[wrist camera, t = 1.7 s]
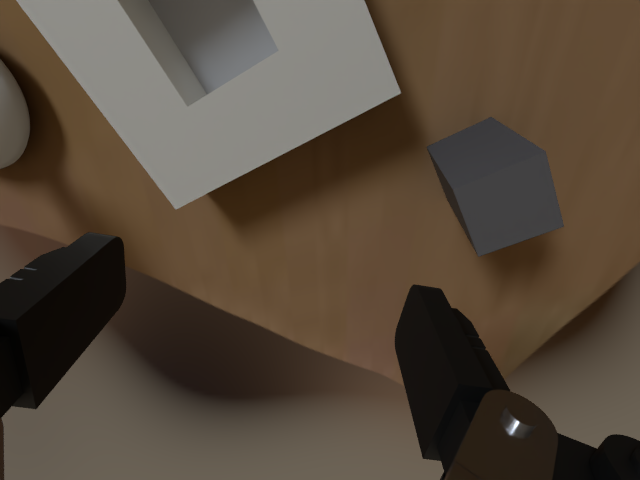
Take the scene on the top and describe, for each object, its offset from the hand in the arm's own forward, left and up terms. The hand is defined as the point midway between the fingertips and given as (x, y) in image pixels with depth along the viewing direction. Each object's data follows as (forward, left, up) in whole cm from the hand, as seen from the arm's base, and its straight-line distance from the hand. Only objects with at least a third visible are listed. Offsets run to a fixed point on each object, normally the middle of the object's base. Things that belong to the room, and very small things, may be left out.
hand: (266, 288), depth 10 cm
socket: (+3, -9, -21) cm, 23 cm away
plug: (-9, +8, -21) cm, 24 cm away
